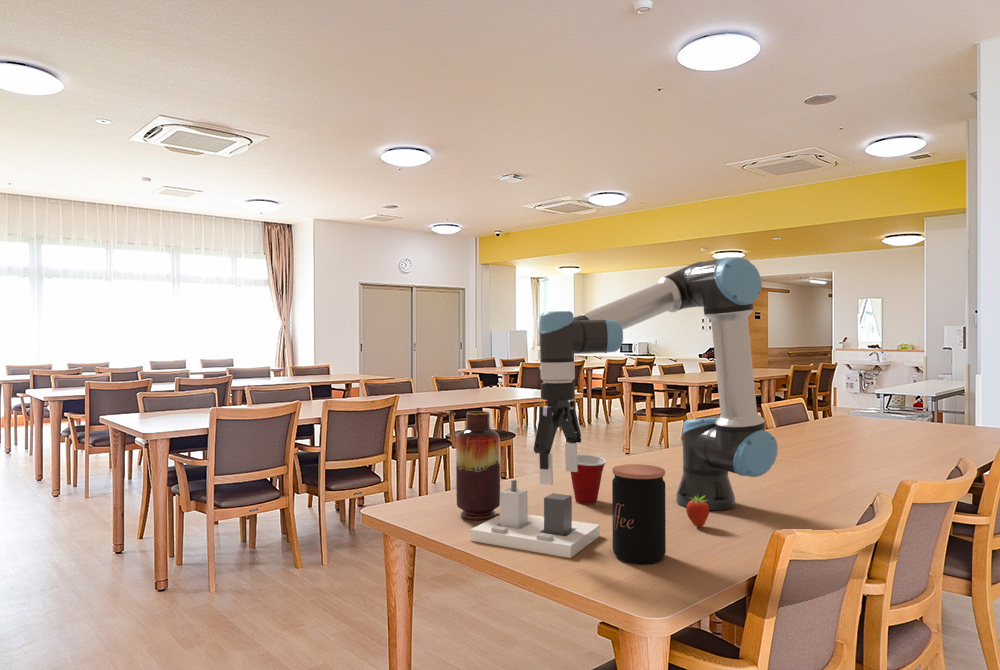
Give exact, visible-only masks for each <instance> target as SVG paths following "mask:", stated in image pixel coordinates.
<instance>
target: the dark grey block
mask: <svg viewBox="0 0 1000 670" xmlns="http://www.w3.org/2000/svg"><path fill="white" fill-rule="evenodd" d="M572 500H573V499H572V495H569V494H561V493H554V492H552V493H551V494H548V495H546V496H545V497H544V498H543V517H544V533H547V534H553V535H559V536H567V535H569V534H570V533H572V521H573V516H572V515H573V512H572V511H573V510H572V509H573V505H572V504H573V502H572Z"/></svg>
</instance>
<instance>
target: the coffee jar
mask: <svg viewBox="0 0 1000 670" xmlns="http://www.w3.org/2000/svg"><path fill="white" fill-rule="evenodd" d="M612 473H613V475H614V477H613V479H612V481H611V484H612V485H611V487H612V493H611V494H612V504H611V505H612V514H611V515H612V517H611V518H612V521H611V522H612V523H611V524H612V551H613V554H614V555H615V557H616V558H617V559H618V560H620V561H622V562H625V563H628V564H632V565H633V564H634V565H653V564H657V563H659V562H662V560H663V558H664V557H665V555H666V553H667V552H666V548H667V547H666V543H667V542H666V536H667V535H666V533H667V532H666V529H667V527H666V482H665V480H664V476H665V475H666V470H665V468H663V467H660V466H655V465H649V464H639V463H638V464H637V463H631V464H629V463H628V464H619V465H616V466H614V467H612Z"/></svg>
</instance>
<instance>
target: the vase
mask: <svg viewBox="0 0 1000 670" xmlns="http://www.w3.org/2000/svg"><path fill="white" fill-rule="evenodd" d="M490 418H491V417H490V412H489V411H484V410H483V411H482V410H475V411H472V410H471V411H467V412H466V424H465V425H466V426H465V428H464V429H463V430H461V431H460V432H459V433H458V434H457V435H456V440H455V442H456V445H455V446H456V447H455V449H456V450H455V452H456V453H455V454H456V455H455V457H456V459H455V460H456V461H455V462H456V467H455V468H456V470H455V471H456V476H455V477H456V484H455V485H456V487H455V488H456V506H457V508H458V509H460V510H461V512H460V517H461V518H462V519H465V520H470V521H488V520H490V519H492V518H494V517H496V516H497V513H496V511H495V510H496V509H498V508H500V492H501V439H500V437H501V436H500V435H499V432H497V431H496V430H494V429H492V428H491V423H490Z"/></svg>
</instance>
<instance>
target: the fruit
mask: <svg viewBox="0 0 1000 670" xmlns="http://www.w3.org/2000/svg"><path fill="white" fill-rule="evenodd" d="M704 497H705V495H704V496H702V497H701V498H698V494H697V497H696V496H694V498H695V499H694V498H690V497H689V498H690V499H692V500H691V501H690V502H689V503H688V504H687V507H685V512H686V515H687V517H688V519H689V520H690V522H691V523H692V524H693V525H694V526H695V527H697V528H702V527H704V525H705V524H706V522H707V520H708V516H709V514H710V510H709V506H708V504H707V503H706V502H705V501H707V500H702V499H703V498H704Z"/></svg>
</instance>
